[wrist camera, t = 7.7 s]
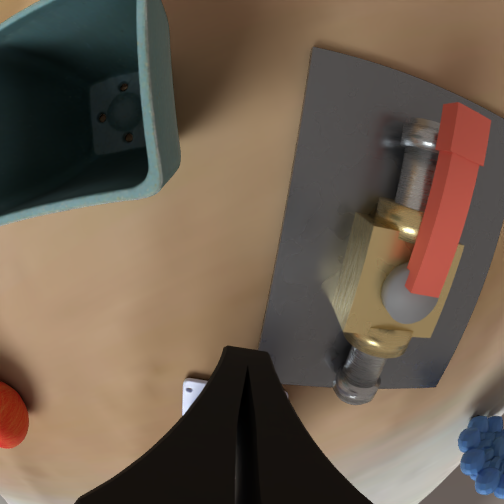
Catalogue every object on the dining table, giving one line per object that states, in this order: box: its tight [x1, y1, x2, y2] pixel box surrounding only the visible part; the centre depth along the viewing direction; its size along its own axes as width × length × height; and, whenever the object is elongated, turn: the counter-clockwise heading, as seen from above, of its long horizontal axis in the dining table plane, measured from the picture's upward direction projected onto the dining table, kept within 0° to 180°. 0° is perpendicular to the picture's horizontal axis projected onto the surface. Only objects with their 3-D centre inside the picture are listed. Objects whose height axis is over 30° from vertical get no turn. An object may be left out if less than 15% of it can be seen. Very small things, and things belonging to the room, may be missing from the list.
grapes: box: [458, 416, 504, 499], centre depth 20 cm, size 12×7×12 cm, turn 75°
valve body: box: [258, 47, 504, 405], centre depth 17 cm, size 22×16×4 cm
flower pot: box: [0, 0, 181, 226], centre depth 12 cm, size 9×9×9 cm
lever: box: [381, 102, 491, 324], centre depth 13 cm, size 11×3×2 cm, turn 169°
